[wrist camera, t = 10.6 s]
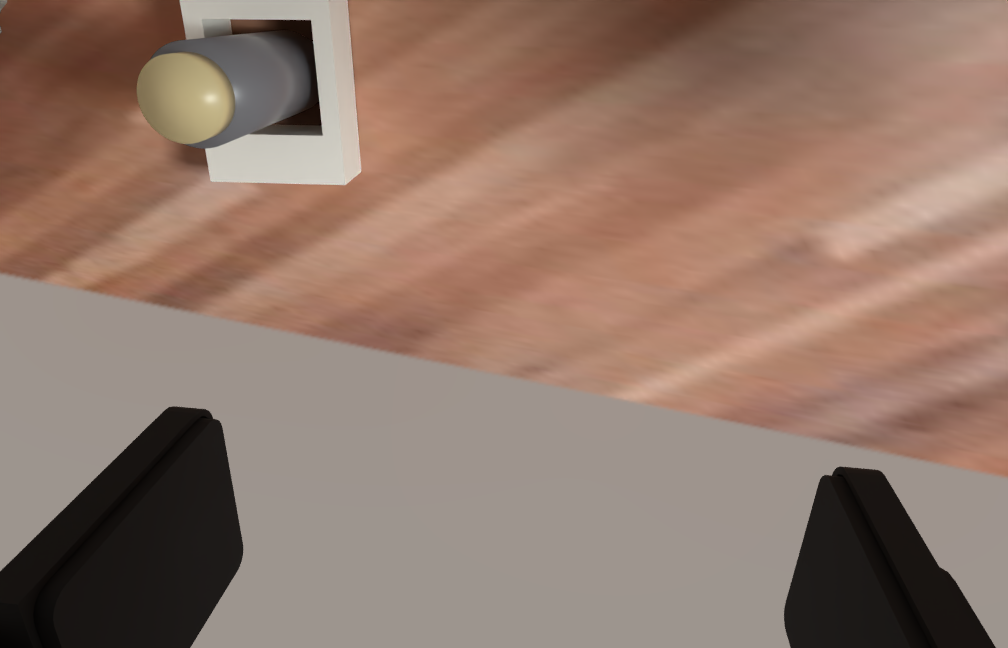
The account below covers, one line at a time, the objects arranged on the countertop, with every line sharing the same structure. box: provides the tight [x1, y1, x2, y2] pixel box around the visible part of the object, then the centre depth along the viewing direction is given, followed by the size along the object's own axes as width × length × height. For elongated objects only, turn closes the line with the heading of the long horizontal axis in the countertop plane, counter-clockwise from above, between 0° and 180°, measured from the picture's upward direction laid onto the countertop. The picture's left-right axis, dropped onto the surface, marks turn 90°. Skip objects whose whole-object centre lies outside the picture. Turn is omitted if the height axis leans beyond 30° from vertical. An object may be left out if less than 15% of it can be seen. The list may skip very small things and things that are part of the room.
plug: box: [137, 30, 319, 149], centre depth 31 cm, size 4×4×11 cm
